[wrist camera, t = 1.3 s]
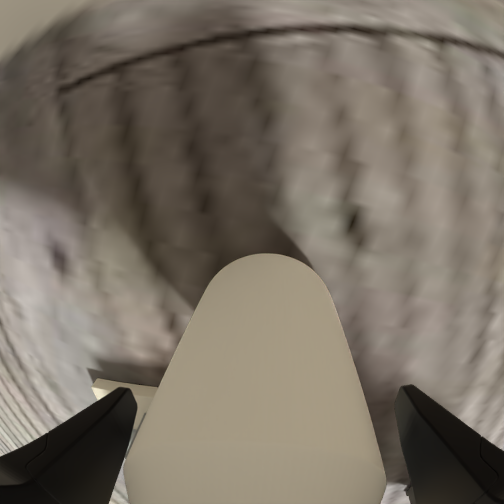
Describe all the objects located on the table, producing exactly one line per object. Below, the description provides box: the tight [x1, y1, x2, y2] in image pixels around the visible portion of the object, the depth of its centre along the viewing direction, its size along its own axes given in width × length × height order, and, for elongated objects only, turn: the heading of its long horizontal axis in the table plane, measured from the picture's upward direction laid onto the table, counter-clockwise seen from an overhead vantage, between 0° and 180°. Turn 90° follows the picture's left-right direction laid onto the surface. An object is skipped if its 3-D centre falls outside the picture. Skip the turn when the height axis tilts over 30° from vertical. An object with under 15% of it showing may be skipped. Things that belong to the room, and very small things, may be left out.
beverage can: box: [123, 253, 387, 504], centre depth 9 cm, size 6×6×12 cm
